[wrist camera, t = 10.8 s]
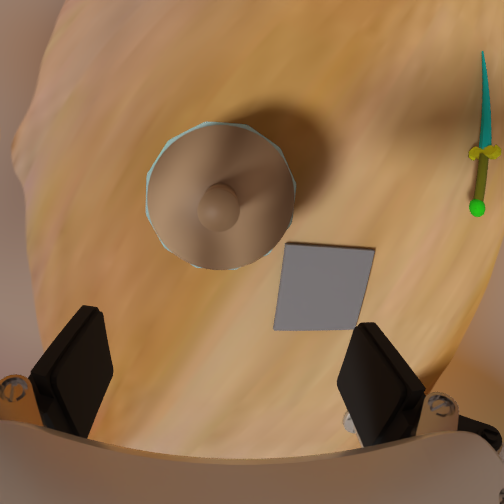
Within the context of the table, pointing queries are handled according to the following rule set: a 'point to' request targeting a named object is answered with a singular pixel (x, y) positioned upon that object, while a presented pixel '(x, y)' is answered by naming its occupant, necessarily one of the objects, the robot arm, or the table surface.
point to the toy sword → (483, 149)
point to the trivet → (321, 287)
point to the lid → (220, 197)
